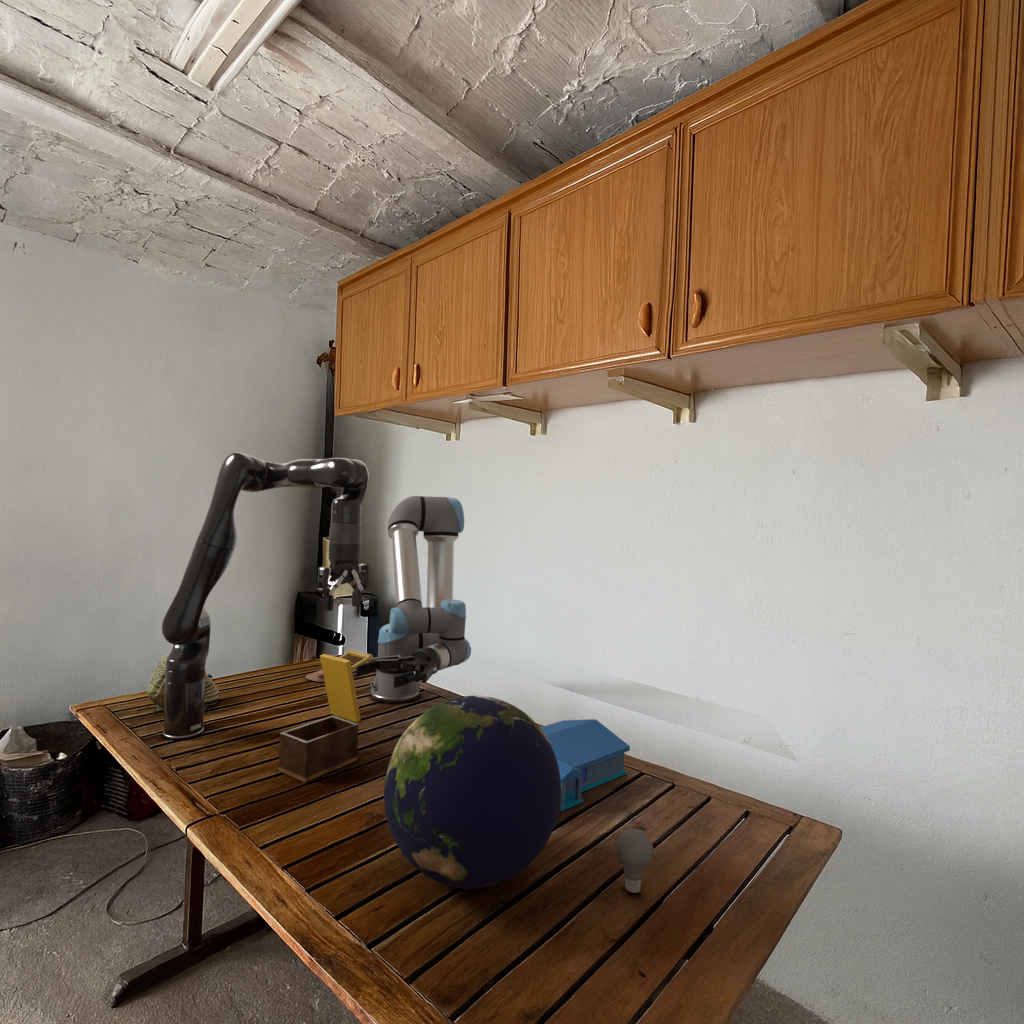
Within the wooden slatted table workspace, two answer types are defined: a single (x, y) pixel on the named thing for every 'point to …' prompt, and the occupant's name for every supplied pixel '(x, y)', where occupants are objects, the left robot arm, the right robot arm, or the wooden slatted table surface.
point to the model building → (584, 756)
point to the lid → (342, 683)
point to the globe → (472, 792)
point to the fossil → (158, 687)
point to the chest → (318, 748)
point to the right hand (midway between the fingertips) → (375, 676)
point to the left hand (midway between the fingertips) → (342, 608)
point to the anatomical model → (316, 676)
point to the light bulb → (634, 857)
